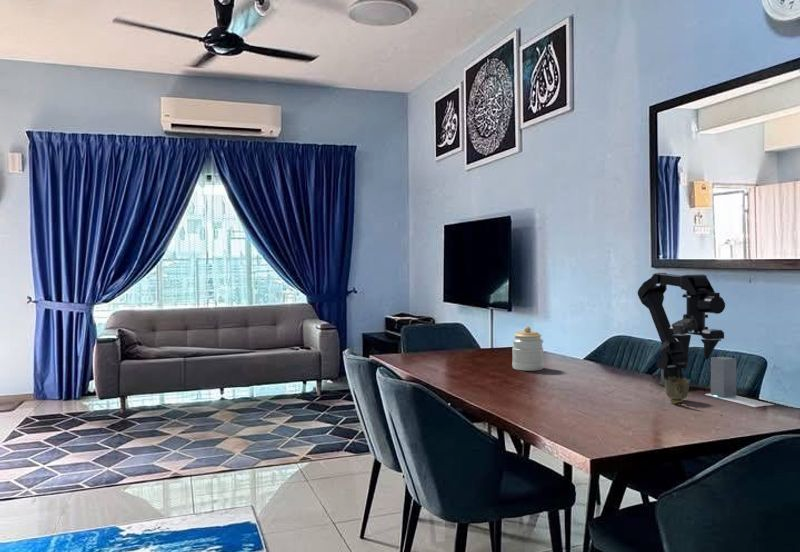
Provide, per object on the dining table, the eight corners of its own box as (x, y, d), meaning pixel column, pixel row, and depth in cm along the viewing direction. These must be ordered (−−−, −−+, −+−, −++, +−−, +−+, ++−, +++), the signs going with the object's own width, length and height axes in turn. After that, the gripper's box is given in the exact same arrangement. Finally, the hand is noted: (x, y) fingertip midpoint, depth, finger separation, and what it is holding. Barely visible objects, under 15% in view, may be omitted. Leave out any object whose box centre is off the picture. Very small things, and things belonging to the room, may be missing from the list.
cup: (678, 407, 188) (678, 381, 188) (658, 402, 195) (658, 377, 195) (695, 404, 192) (695, 379, 192) (674, 400, 198) (674, 375, 198)
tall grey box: (710, 394, 201) (710, 357, 201) (723, 392, 203) (723, 356, 203) (723, 397, 196) (723, 359, 196) (736, 396, 198) (736, 358, 198)
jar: (546, 371, 253) (546, 328, 253) (515, 371, 253) (514, 328, 253) (539, 365, 266) (539, 325, 266) (509, 366, 266) (509, 325, 266)
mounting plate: (704, 397, 202) (704, 394, 202) (723, 395, 205) (723, 392, 205) (754, 410, 184) (754, 406, 184) (774, 407, 187) (774, 404, 187)
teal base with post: (706, 397, 202) (706, 383, 202) (723, 395, 204) (723, 382, 204) (724, 402, 195) (724, 387, 195) (741, 400, 197) (741, 386, 197)
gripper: (656, 310, 215) (656, 355, 215) (698, 314, 197) (698, 363, 197) (682, 309, 218) (682, 353, 219) (725, 313, 201) (725, 361, 201)
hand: (695, 357), depth 209 cm, fingers open, 9 cm apart
